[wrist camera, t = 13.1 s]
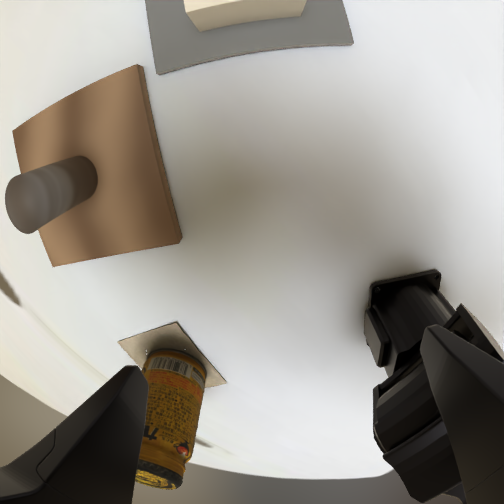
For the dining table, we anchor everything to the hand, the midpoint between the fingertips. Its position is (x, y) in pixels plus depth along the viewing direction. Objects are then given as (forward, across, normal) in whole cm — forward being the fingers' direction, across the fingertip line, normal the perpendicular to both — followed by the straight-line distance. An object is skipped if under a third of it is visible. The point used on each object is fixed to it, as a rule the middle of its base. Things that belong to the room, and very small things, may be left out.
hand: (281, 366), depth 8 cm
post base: (+12, +12, -6) cm, 18 cm away
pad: (+12, -1, -16) cm, 20 cm away
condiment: (+12, +11, +12) cm, 20 cm away
